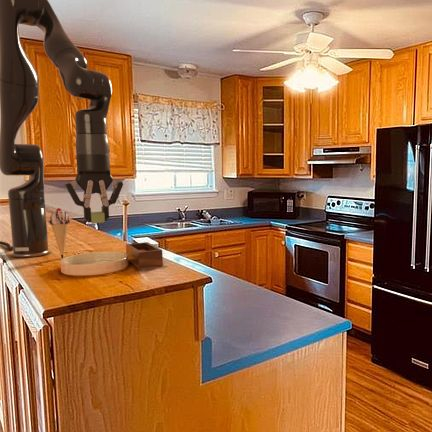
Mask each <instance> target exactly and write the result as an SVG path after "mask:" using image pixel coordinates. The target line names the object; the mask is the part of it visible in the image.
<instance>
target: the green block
mask: <svg viewBox="0 0 432 432" xmlns="http://www.w3.org/2000/svg"><path fill="white" fill-rule="evenodd" d="M105 222H106V221H105V215H104V213H103V212H102V210H101V211H91V223H90V224H102V223H105Z"/></svg>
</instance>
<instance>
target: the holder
mask: <svg viewBox="0 0 432 432" xmlns="http://www.w3.org/2000/svg"><path fill="white" fill-rule="evenodd" d="M141 249H145V250H146V251H144V252H140V251H139V250H141ZM125 253H126V254H128V261H129V263H131V264H132V265H133V266H135V267H136V269H138V270H145V269H151V268H160V267H163V266H164V259H163V258H164V257H163V249H162V248H160V247H158V246H156V245H154V244H152V243H151V242H148V241H145V242H135V243H126V244H125Z"/></svg>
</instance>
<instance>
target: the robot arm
mask: <svg viewBox="0 0 432 432" xmlns="http://www.w3.org/2000/svg"><path fill="white" fill-rule="evenodd" d="M19 25H23V26H29V27H37V28H38V29H40V30H41V31H42V32H43V33H44V35H43V44H42V45H43V50H44V52H45V55H46V56H47V57H48V59H49V60H50V61H51V62H52V65H54V66H55V68H56V69H57V70H58V72H59V73H58V74H59V75H60V78H61V81H62V84H63V87H64V89H65V90H66V92H67V93H68V94H69V95H70V96H72V97H74V98H76V99H83V100H89V105H88V107H87V108H83V109H79V110H77V111H76V112H75V113H74V115H75V116H74V122H75V125H74V126H75V156H76V159H75V160H76V173H77V174H76V176H75V180H72V181H70V182H66V183H64V187H65V188H66V190H67V192H68V194H69V196H70V198H71V199H72V202H73V203H74V204H75V205H76V206H78V207H82V208H83V219H84V221H86V222H87V223H88V224H89V223H90V224H92V223H91V212H92V208H91V206H90V205H91V199H92V195H93V194H99V198H100V202H101V205H102V206H101V212H103V213H104V215H105V222H107V221H108V220H109V218H110V206H111V205H115V204H116V203H117V202H118V198H119V196H120V193H121V191H122V188H123V186H124V183H123V181H120V180H119V181H118V180H115V179H114V177H113V176H112V174H111V162H110V161H111V159H110V152H111V151H110V150H111V149H110V144H109V139H108V138H109V137H108V125H107V117H108V113H109V109H110V104H111V99H112V95H113V85H112V82H111V80H110V78H109V76H107V75H108V74H106V73H104V72H102V71H97V70H93V69H88V61H87V58H86V57H85V56H84V54H83V52H81V50H80V49H79V48H78V47H77V45H76V44H75V43H74V42H73V41H72V40H71V38H70V37H69V36H68V34H67V33H66V31H65V29H64V27H63V26H62V23H61V21H60V19H59V17H58V16H57V14H56V13H55V11H54V9H53V6H52V5H51V3H50V1H49V0H0V172H1V174H3V175H4V176H9V177H12V176H14V177H15V176H16V177H18V176H19V177H20V176H21V177H23V176H28V180H26V181H25V182H23V183H22V184H20V185H17V186H15V187H12V188H9V190H8V192H7V196H8V208H9V209H8V210H9V219H10V232H11V242H12V246H11V244H10V243H9V242H5V241H3V240H0V245H1V246H5V247H6V248H7V250H8V251H12V257H14V258H20V259H21V258H35V257H36V258H37V257H42V256H45V255H48V254H49V253H50V248H49V236H48V225H47V224H48V223H47V211H46V199H45V177H44V176H45V174H44V173H45V172H44V170H45V169H44V168H45V167H44V166H45V165H44V154H43V150H42V148H41V147H40V145H38V144H34V143H33V144H32V143H31V144H30V143H16V138H17V136H18V132H19V131H20V128H21V127H22V125H23V124H24V123H25V122H26V120H27V119H28V118H29V116H30V115H31V114H32V113H33V112H34V111H35V109H36V107H37V106H38V104H39V99H40V78H39V75H38V72H37V70H36V69H35V66H34V65H33V62H32V61H31V60H30V58H29V56H28V55H27V53H26V52H25V50H24V48H23V45H22V42H21V38H20V32H19ZM111 184H112V186H111ZM77 185H78V187H80V188H81V190H82V191H83V199H82V200H81V198H80V197H79V195H78V194H77V192H76V190H77ZM110 186H111V187H112V188H113V190H112V192H111V195H110V197H109V199H108V193H107V190H108V189H109V187H110Z"/></svg>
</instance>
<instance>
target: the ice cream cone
mask: <svg viewBox="0 0 432 432" xmlns="http://www.w3.org/2000/svg"><path fill="white" fill-rule="evenodd" d="M71 223H72V219H70V217H69V214H68V213H67V211H65V210H62V209H61V208H60V207H58V208H57V209H56V210H55V211H53V212H51V214H50V217H49V220H48V224H49V225H50V226H51V229H52V231H53V234H54V238H55V242H56V245H57V247H58V251H59V254H60V257H61V259H63V258H64V253H65V247H66V243H67V234H68V230H69V224H71Z"/></svg>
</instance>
